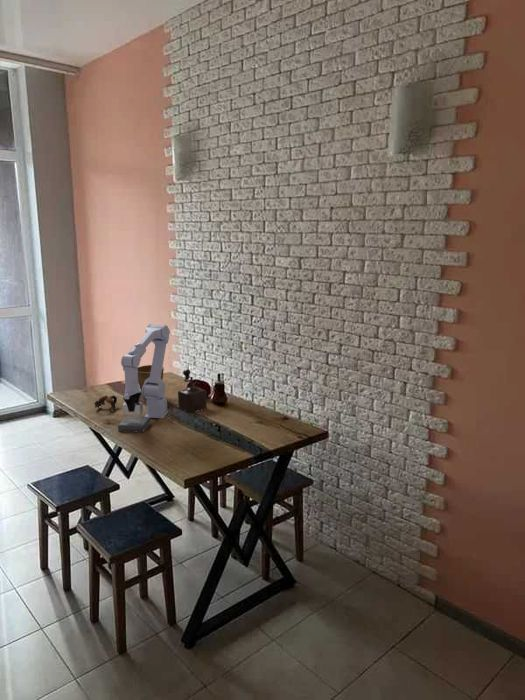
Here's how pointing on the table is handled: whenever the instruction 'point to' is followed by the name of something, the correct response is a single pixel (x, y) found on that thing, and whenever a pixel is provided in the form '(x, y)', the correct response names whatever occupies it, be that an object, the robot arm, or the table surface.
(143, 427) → the stand
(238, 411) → the table surface
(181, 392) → the manual coffee grinder
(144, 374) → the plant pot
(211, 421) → the table surface
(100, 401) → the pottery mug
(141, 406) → the block
